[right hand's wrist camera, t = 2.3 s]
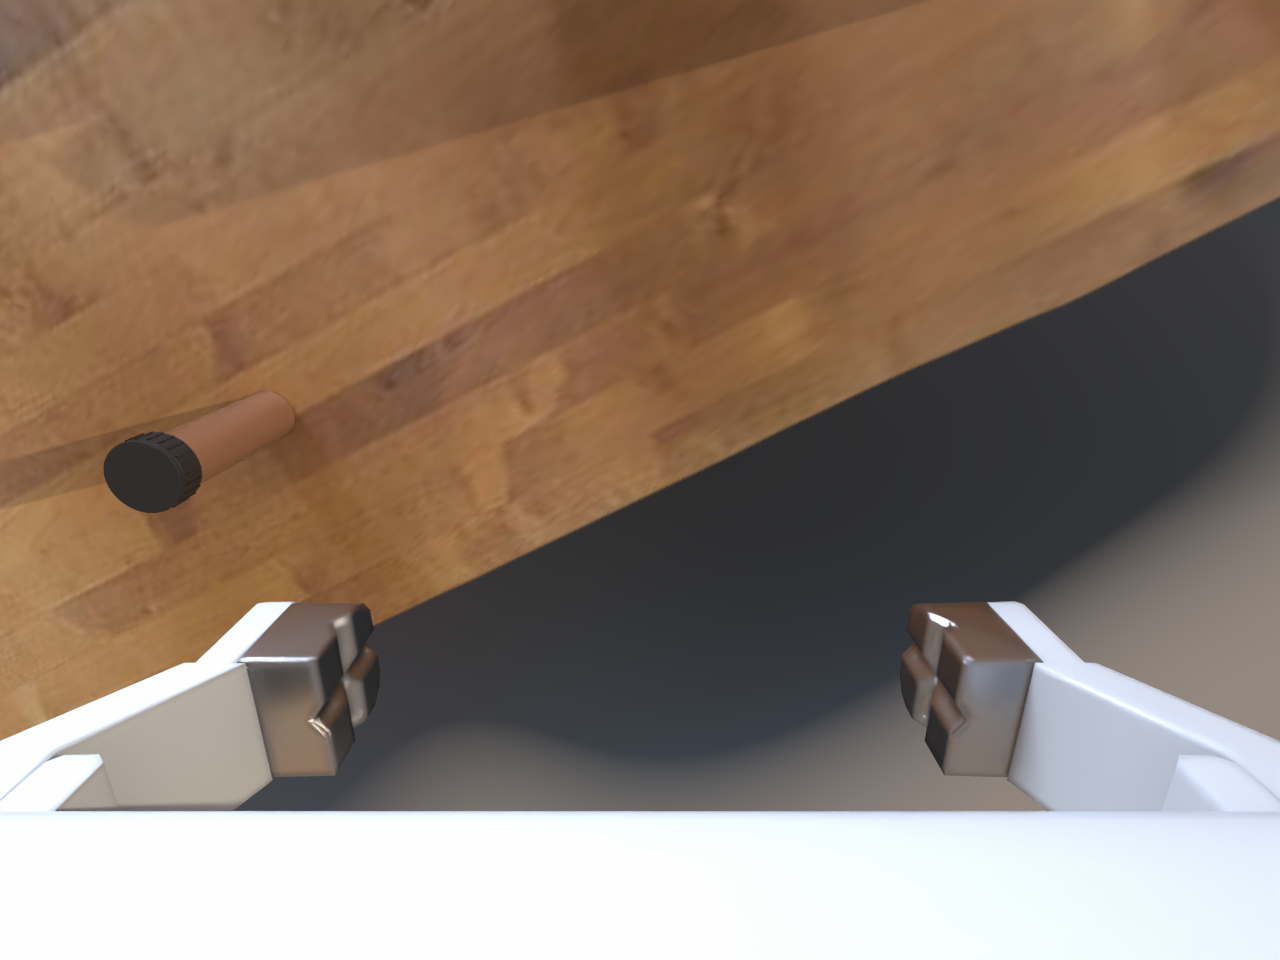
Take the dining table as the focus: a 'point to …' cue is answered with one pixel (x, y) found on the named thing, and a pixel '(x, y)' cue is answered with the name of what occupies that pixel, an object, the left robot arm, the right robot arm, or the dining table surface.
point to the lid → (152, 472)
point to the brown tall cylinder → (236, 431)
